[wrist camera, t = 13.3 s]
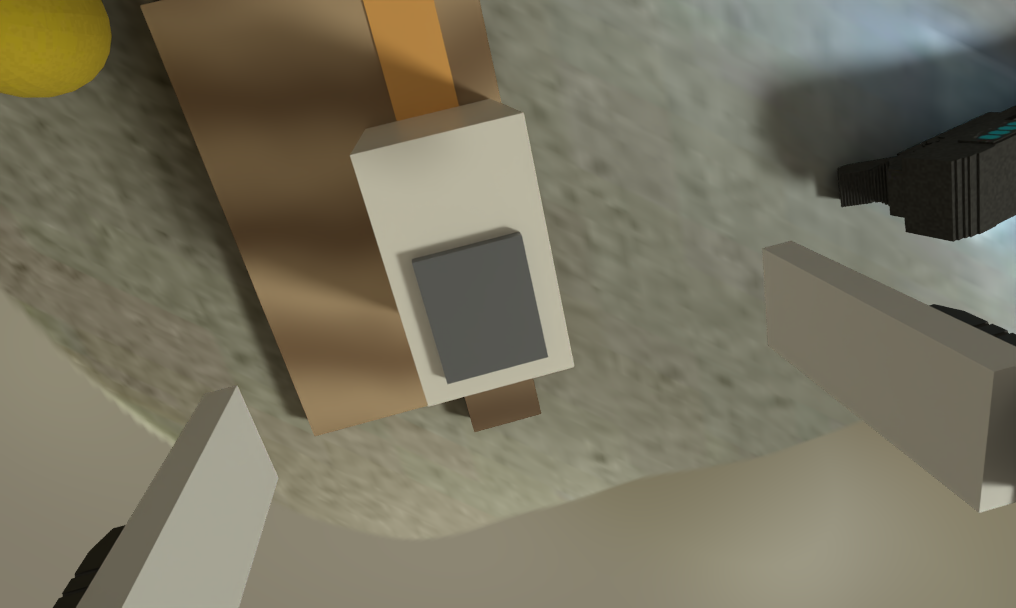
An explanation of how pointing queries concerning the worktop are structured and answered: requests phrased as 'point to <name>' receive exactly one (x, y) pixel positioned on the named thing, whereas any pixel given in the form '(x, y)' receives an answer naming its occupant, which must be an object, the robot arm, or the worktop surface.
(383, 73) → the subfloor panel
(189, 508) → the robot arm
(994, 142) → the gun
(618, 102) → the worktop surface
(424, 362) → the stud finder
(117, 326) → the worktop surface
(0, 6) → the lemon
